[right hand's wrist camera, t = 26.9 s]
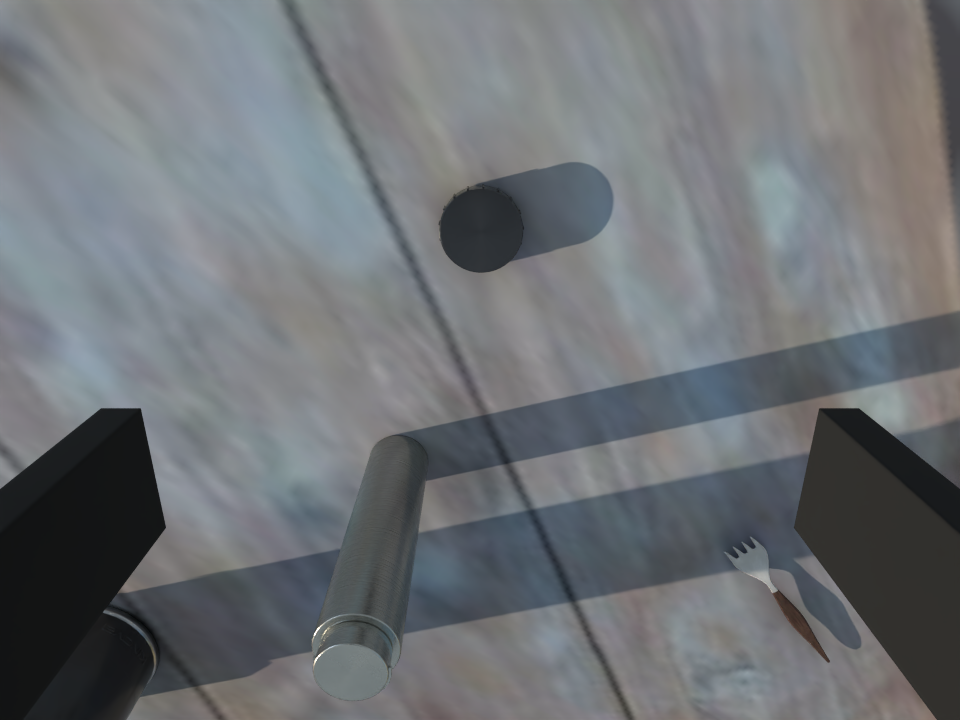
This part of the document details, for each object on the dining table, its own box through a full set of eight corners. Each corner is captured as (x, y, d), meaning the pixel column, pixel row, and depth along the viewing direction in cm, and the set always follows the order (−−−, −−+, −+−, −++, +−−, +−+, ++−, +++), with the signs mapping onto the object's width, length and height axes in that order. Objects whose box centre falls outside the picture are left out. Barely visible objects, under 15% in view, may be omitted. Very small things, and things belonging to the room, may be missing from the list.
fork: (811, 664, 53) (823, 684, 51) (712, 537, 49) (721, 554, 47) (840, 649, 53) (853, 669, 51) (743, 519, 48) (753, 535, 46)
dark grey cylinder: (370, 485, 47) (306, 707, 30) (368, 434, 46) (300, 636, 28) (428, 486, 47) (397, 708, 30) (428, 435, 46) (396, 638, 28)
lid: (539, 221, 40) (542, 226, 39) (486, 283, 42) (486, 290, 40) (476, 166, 39) (476, 168, 38) (423, 232, 41) (420, 237, 39)
